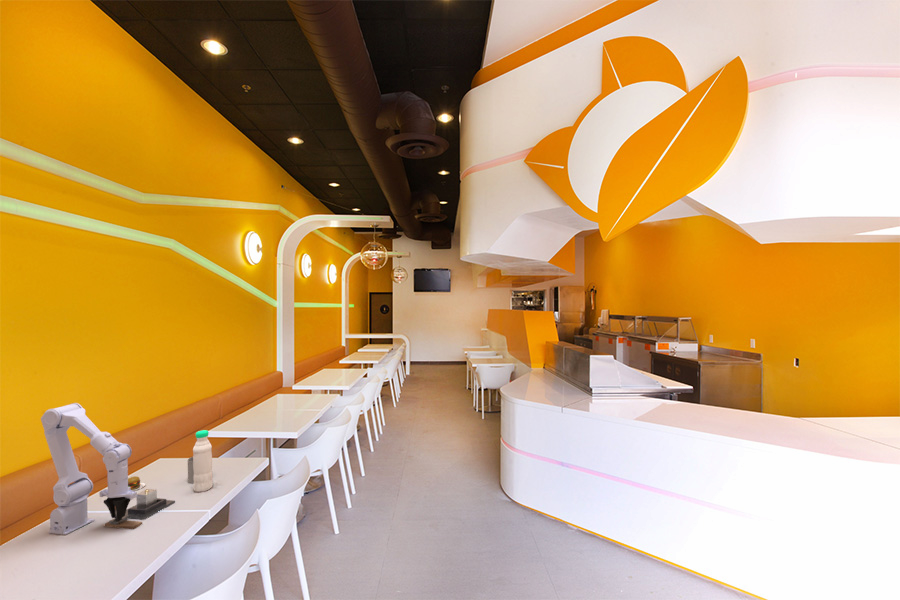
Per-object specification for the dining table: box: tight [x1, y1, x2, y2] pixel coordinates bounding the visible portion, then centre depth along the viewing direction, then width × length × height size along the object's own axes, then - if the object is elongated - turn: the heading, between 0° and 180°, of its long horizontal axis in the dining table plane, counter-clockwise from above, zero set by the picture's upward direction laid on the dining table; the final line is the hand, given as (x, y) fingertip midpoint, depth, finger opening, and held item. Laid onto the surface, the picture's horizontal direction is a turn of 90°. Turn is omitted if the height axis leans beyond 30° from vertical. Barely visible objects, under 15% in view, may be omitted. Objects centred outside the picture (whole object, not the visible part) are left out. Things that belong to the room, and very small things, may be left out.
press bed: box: [125, 497, 176, 520], centre depth 155 cm, size 13×13×2 cm
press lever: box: [108, 506, 129, 525], centre depth 145 cm, size 4×4×7 cm
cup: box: [187, 456, 194, 485], centre depth 182 cm, size 8×8×10 cm
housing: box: [136, 488, 158, 509], centre depth 156 cm, size 4×4×7 cm
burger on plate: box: [128, 475, 146, 492], centre depth 175 cm, size 12×12×6 cm
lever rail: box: [104, 519, 143, 530], centre depth 144 cm, size 3×13×1 cm, turn 78°
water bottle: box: [192, 429, 213, 493], centre depth 172 cm, size 7×7×25 cm
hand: (118, 517), depth 144 cm, fingers closed on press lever, 2 cm apart
